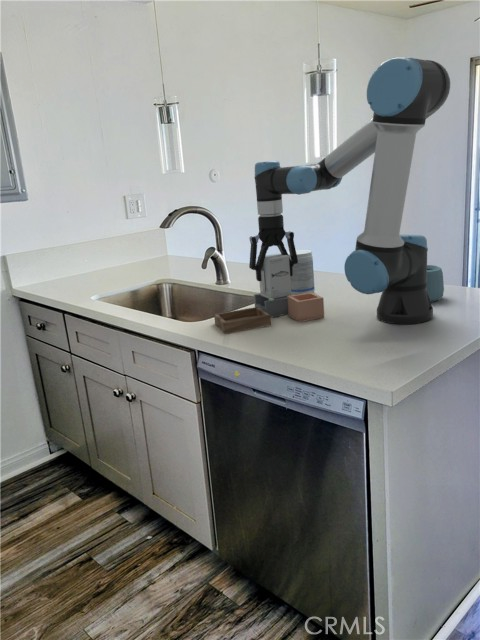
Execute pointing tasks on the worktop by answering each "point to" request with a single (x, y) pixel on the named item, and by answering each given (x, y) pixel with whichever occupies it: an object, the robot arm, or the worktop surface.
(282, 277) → the supplement box
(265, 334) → the worktop surface
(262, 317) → the trough
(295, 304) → the square terracotta planter
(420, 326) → the worktop surface
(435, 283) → the mug
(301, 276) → the supplement tub
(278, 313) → the cradle
